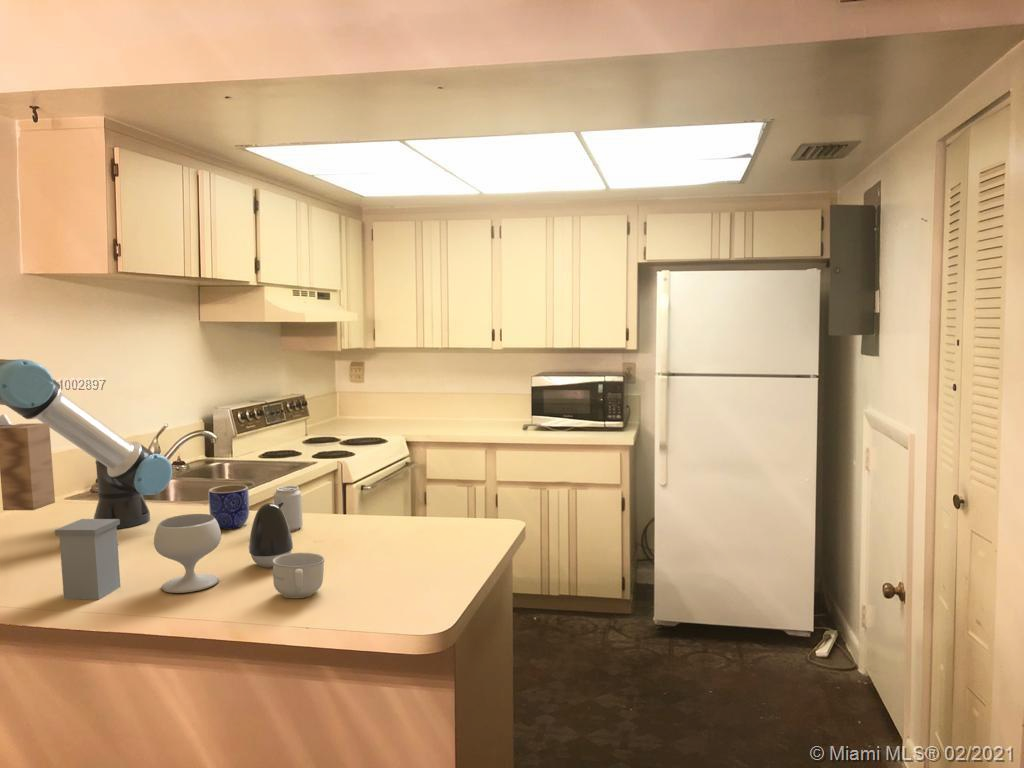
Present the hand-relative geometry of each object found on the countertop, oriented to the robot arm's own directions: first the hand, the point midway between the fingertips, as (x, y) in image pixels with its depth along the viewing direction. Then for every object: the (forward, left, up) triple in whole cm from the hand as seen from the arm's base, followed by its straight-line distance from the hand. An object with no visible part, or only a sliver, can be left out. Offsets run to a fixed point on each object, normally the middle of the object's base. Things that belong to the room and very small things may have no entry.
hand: (1, 420), depth 171 cm
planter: (-58, -16, -39) cm, 72 cm away
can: (-68, 0, -39) cm, 78 cm away
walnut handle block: (0, 0, -19) cm, 19 cm away
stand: (-12, +14, -39) cm, 43 cm away
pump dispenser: (-49, +26, -39) cm, 68 cm away
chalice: (-29, +26, -39) cm, 55 cm away
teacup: (-42, +51, -39) cm, 76 cm away
